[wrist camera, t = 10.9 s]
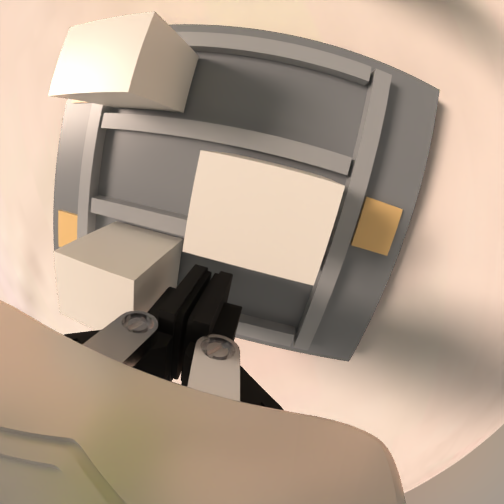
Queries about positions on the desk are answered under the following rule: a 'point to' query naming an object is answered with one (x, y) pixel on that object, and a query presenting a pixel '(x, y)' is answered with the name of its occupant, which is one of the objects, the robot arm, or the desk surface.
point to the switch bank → (272, 150)
